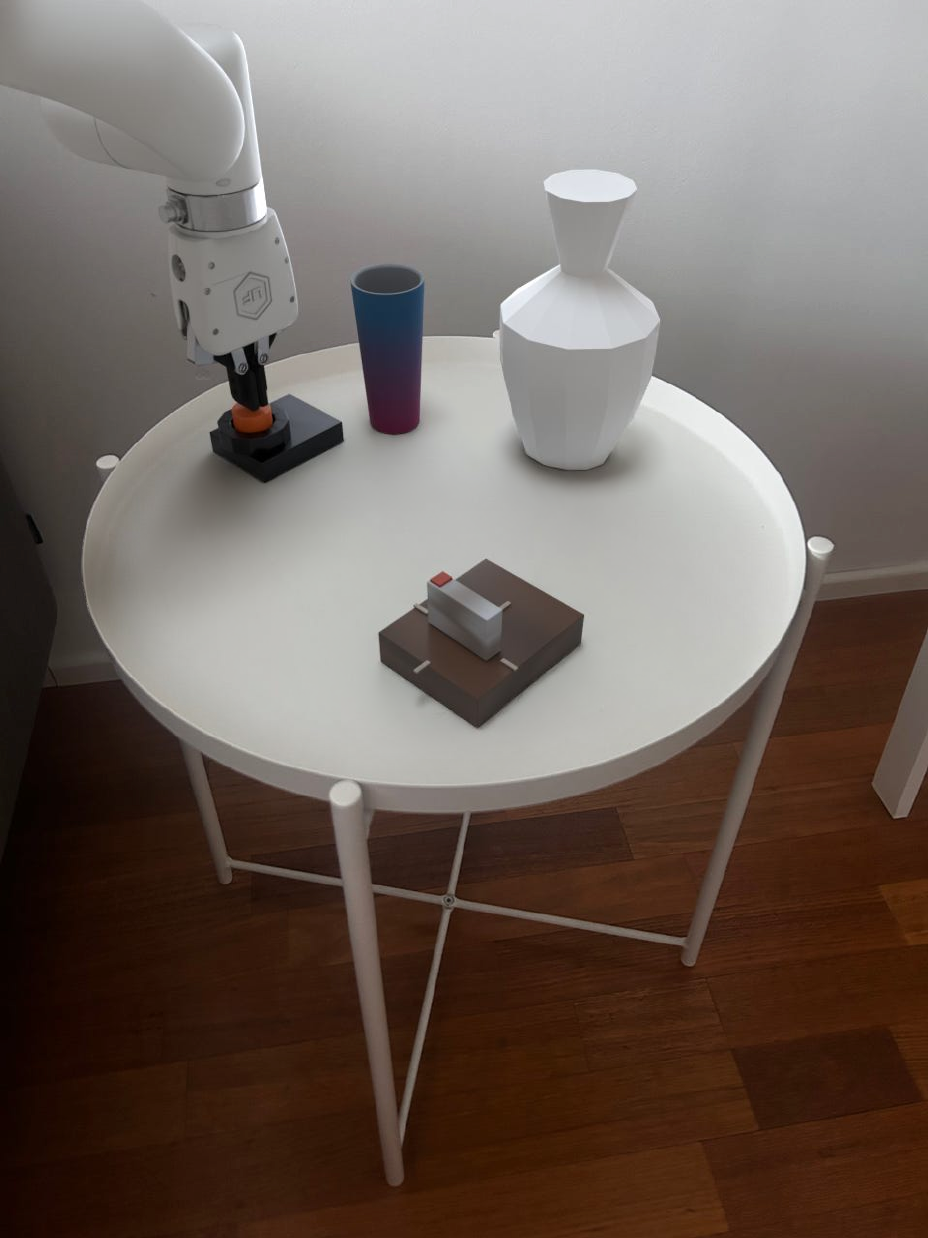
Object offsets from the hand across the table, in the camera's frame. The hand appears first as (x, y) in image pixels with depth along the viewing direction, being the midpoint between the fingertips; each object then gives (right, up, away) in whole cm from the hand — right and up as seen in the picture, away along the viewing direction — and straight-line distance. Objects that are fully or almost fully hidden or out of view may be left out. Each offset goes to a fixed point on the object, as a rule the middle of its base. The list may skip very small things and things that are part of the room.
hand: (251, 403), depth 94 cm
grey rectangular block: (+20, -21, -19) cm, 35 cm away
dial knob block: (+21, -23, -16) cm, 35 cm away
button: (0, -2, +1) cm, 2 cm away
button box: (+2, -3, +5) cm, 6 cm away
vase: (+30, -4, +5) cm, 31 cm away
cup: (+13, 0, +9) cm, 15 cm away
